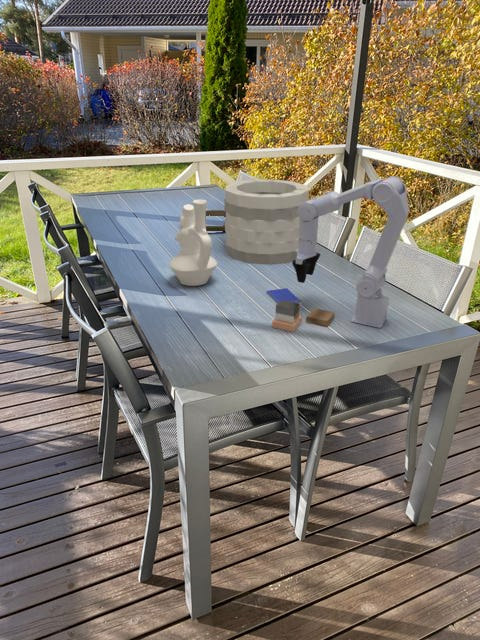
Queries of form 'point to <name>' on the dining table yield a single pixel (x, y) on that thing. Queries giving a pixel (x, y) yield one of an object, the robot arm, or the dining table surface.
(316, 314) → the stand
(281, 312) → the block
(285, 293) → the hard drive
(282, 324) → the stand
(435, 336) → the dining table surface
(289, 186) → the storage basket
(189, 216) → the double spout vessel
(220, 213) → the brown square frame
